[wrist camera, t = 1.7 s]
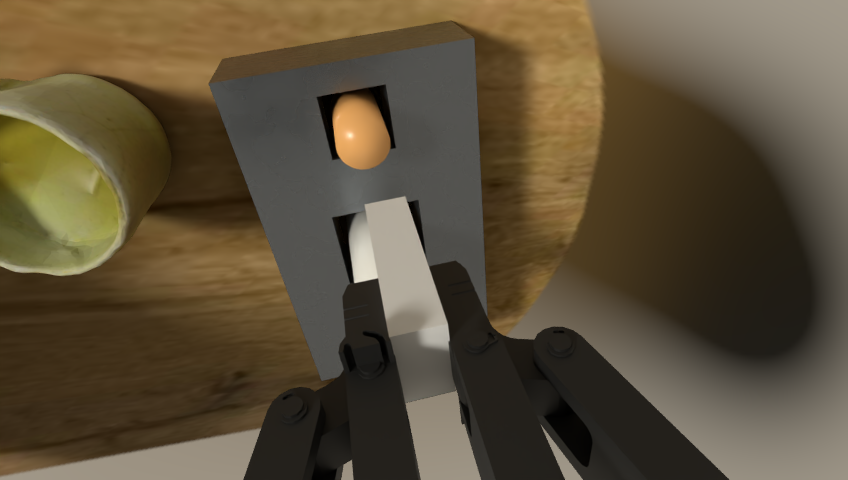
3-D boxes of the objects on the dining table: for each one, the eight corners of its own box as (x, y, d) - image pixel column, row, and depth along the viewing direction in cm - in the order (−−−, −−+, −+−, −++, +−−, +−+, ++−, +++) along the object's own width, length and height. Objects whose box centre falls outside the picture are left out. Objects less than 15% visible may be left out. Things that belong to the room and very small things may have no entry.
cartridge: (350, 237, 37) (371, 395, 25) (337, 185, 34) (354, 335, 22) (407, 225, 37) (456, 374, 25) (399, 173, 35) (449, 313, 23)
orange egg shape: (336, 132, 30) (342, 174, 25) (326, 88, 28) (330, 124, 23) (380, 124, 30) (394, 164, 25) (372, 80, 28) (385, 113, 24)
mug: (237, 163, 30) (129, 256, 22) (140, 222, 34) (19, 317, 26) (80, -29, 25) (-137, -3, 17) (-11, 67, 29) (-220, 126, 21)
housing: (320, 336, 42) (321, 380, 38) (222, 58, 28) (208, 83, 24) (471, 301, 43) (488, 340, 39) (451, 20, 29) (474, 37, 25)
